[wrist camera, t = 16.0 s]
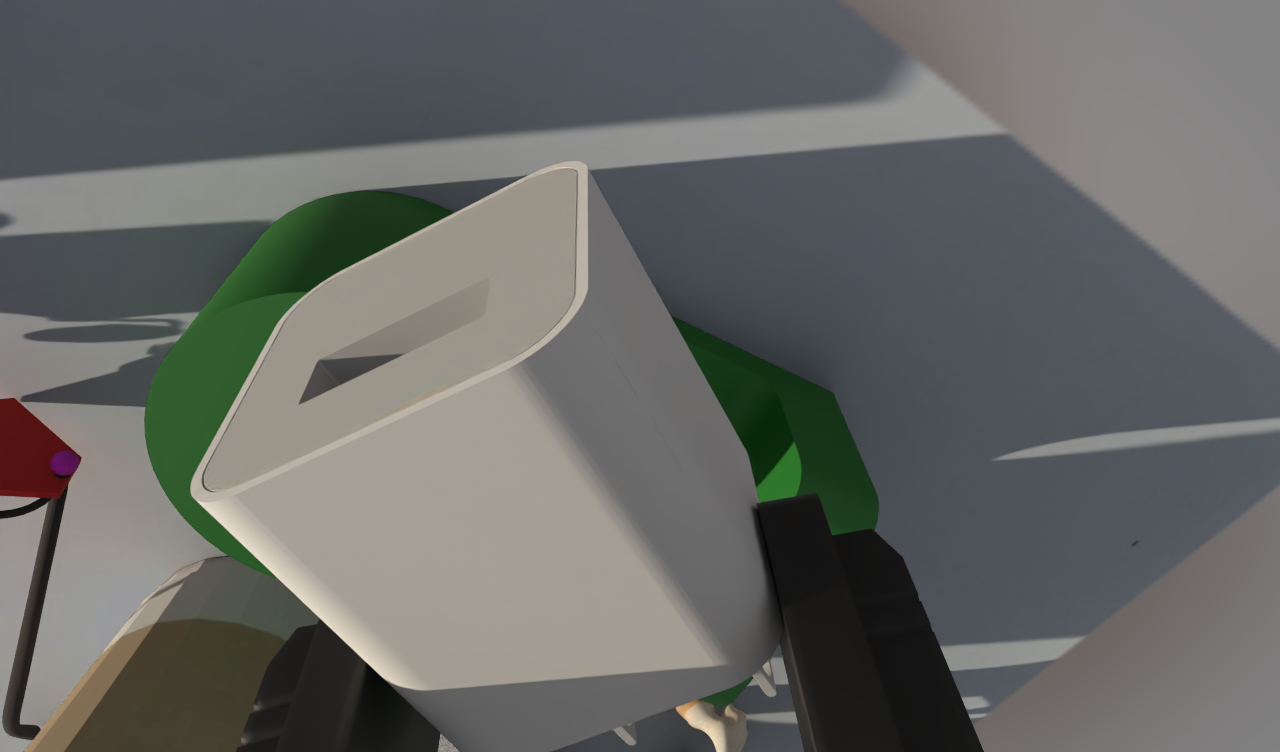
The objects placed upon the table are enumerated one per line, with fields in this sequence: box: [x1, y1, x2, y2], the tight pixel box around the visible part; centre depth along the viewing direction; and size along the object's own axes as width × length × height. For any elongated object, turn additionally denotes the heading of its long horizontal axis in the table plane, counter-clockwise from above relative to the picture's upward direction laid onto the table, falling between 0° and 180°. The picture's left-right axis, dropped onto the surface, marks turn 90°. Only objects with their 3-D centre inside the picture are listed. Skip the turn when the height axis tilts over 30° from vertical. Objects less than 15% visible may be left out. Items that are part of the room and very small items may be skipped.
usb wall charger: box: [190, 161, 784, 752], centre depth 11 cm, size 4×7×4 cm, turn 27°
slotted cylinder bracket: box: [144, 191, 879, 707], centre depth 26 cm, size 18×9×6 cm, turn 61°
